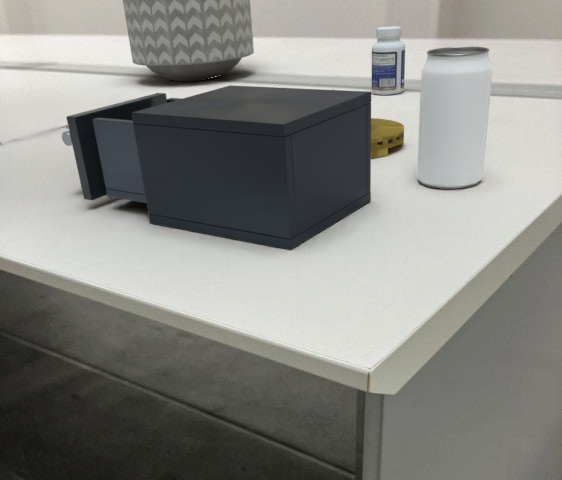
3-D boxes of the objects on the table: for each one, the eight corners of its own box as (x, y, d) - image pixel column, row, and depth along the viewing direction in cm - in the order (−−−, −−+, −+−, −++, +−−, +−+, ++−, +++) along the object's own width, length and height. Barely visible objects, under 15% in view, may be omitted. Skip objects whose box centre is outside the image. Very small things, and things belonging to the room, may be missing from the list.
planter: (179, 68, 157) (163, -54, 145) (275, 68, 147) (267, -63, 135) (111, 87, 139) (86, -51, 126) (216, 88, 129) (201, -62, 116)
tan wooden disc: (381, 163, 76) (381, 143, 75) (287, 156, 82) (286, 137, 80) (417, 138, 85) (418, 120, 84) (330, 133, 90) (330, 116, 89)
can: (496, 181, 68) (510, 48, 62) (446, 194, 65) (455, 57, 59) (451, 168, 73) (460, 44, 66) (403, 180, 70) (407, 52, 64)
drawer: (51, 193, 70) (32, 113, 66) (137, 163, 79) (125, 90, 75) (194, 219, 61) (182, 126, 56) (275, 181, 69) (269, 98, 65)
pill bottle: (388, 88, 117) (389, 25, 112) (410, 91, 113) (412, 26, 108) (364, 93, 114) (364, 28, 109) (387, 96, 111) (388, 29, 106)
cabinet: (149, 223, 63) (130, 112, 58) (239, 183, 73) (229, 85, 68) (290, 250, 55) (283, 124, 50) (370, 201, 65) (371, 91, 60)
